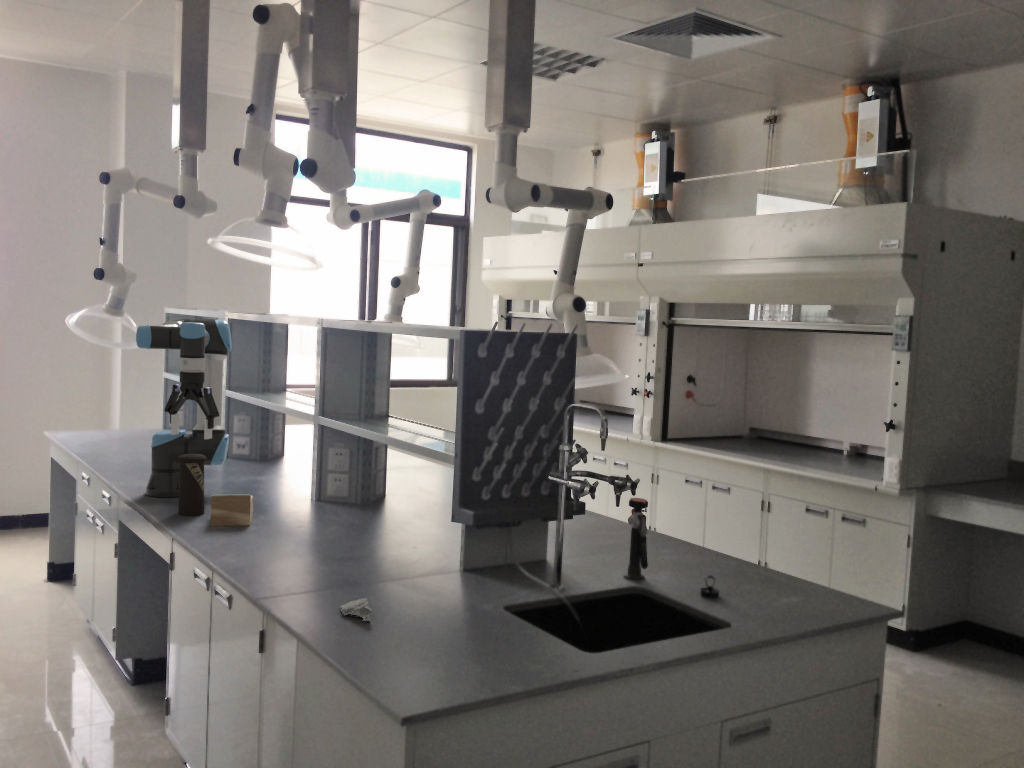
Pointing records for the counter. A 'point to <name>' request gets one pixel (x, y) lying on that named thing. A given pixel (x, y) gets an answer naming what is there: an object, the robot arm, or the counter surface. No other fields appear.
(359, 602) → the stone
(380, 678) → the counter surface
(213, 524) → the stand
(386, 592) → the counter surface
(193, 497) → the container
